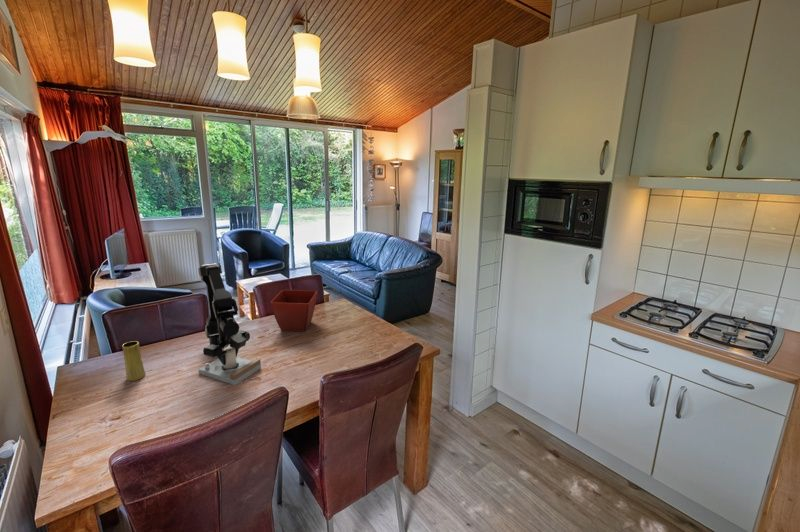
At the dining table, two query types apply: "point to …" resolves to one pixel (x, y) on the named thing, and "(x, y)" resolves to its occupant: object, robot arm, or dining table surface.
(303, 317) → the plant pot
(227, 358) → the bushing
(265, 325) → the dining table surface
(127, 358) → the vase
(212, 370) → the jig
